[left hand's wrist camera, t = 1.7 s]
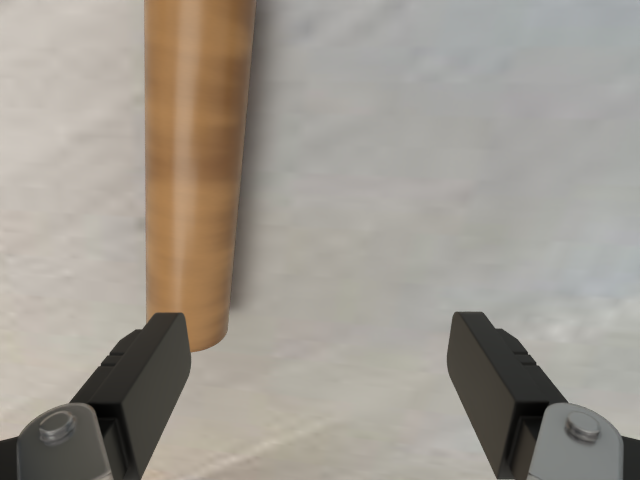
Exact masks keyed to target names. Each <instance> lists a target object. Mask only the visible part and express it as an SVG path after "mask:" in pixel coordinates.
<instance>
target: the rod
mask: <svg viewBox="0 0 640 480" xmlns="http://www.w3.org/2000/svg"><path fill="white" fill-rule="evenodd" d="M256 2H257V0H144V35H145V190H146V324H147V323H148V321H149V320H150V319H151V317H152V316H153V315H154V314H155V313H157V312H181V313H183V314H184V316H185V319H186V325H187V332H188V339H189V345H190V352H197V351H201V350H205V349H208V348H210V347H212V346H214V345H216V344H217V343H219V342H220V341H221V340H222V339H223V338H224V337H225V335H226V333H227V330H228V320H229V308H230V297H231V286H232V274H233V263H234V252H235V240H236V229H237V218H238V206H239V195H240V183H241V172H242V161H243V149H244V138H245V127H246V115H247V104H248V93H249V81H250V70H251V58H252V47H253V36H254V24H255V13H256Z"/></svg>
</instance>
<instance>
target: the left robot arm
mask: <svg viewBox="0 0 640 480" xmlns="http://www.w3.org/2000/svg"><path fill="white" fill-rule="evenodd" d="M447 367H448V372H449V376H450V378H451V380H452V382H453V385H454V387H455V389H456V391H457V393H458V395H459V398H460V400H461V402H462V404H463V406H464V409H465V411H466V413H467V415H468V417H469V419H470V422H471V424H472V426H473V428H474V430H475V432H476V435H477V437H478V439H479V441H480V443H481V445H482V448H483V450H484V452H485V454H486V456H487V459H488V461H489V463H490V465H491V467H492V469H493V472H494V474H495V476H496V478H497V479H515V480H640V440H637V439H632V438H628V437H624V436H621V435H620V434H619V432H618V431H617V429H616V428H615V427H614V426H613V425H612V424H611V423H610V422H609V421H607V420H606V419H605V418H604V417H602V416H600V415H599V414H597V413H595V412H594V411H592V410H590V409H587V408H585V407H582V406H579V405H576V404H571V403H568V401H567V400H566V399H565V398H564V397H563V395H562V394H561V393H560V392H559V390H558V389H557V388H556V387H555V385H554V384H553V383H552V382H551V380H550V379H549V378H548V377H547V375H546V374H545V373H544V372H543V370H542V369H541V368H540V367H539V365H536V362H535V361H534V359H533V358H532V357H531V356H530V355H528V352H527V351H526V349H525V348H524V347H523V346H522V344H521V343H520V342H519V341H518V339H516V338H515V337H513V336H512V335H510V334H509V333H507V332H506V331H504V330H503V329H495V328H494V326H493V325H492V324H491V322H490V321H489V320H488V318H487V317H486V316H485V314H484V313H483V312H455V313H454V315H453V318H452V324H451V331H450V338H449V345H448V352H447ZM190 368H191V352H190V345H189V339H188V332H187V325H186V319H185V316H184V314H183V313H181V312H157V313H155V314H154V315H153V316H152V317H151V319H150V320H149V321H148V323H147V324H146V325H145V327H144V328H143V329H142V330H134V331H133V332H132V333H130V334H129V335H127V336H126V337H124V338H123V339H121V340H120V341H119V342H118V343H117V345H116V346H115V347H114V348H113V349H112V351H111V352H110V355H109V356H107V357H106V358H105V359H104V361H103V362H102V363H101V366H99V367H98V368H97V369H96V370H95V372H94V373H93V374H92V375H91V377H90V378H89V379H88V380H87V381H86V383H85V384H84V385H83V386H82V388H81V389H80V390H79V391H78V393H77V394H76V395H75V396H74V397H73V399H72V400H71V401H70V402H69V404H64V405H61V406H58V407H55V408H53V409H50V410H48V411H46V412H45V413H43V414H41V415H40V416H38V417H36V418H35V419H34V420H33V421H31V422H30V423H29V424H28V425H27V426H26V427H25V428H24V429H23V431H22V432H21V434H20V435H19V436H18V437H14V438H10V439H6V440H2V441H0V480H141V478H142V476H143V473H144V471H145V469H146V467H147V465H148V463H149V461H150V458H151V456H152V454H153V452H154V450H155V448H156V446H157V443H158V441H159V439H160V437H161V435H162V433H163V430H164V428H165V426H166V424H167V422H168V420H169V418H170V415H171V413H172V411H173V409H174V407H175V405H176V403H177V400H178V398H179V396H180V394H181V392H182V390H183V387H184V385H185V383H186V381H187V379H188V376H189V373H190Z"/></svg>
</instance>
